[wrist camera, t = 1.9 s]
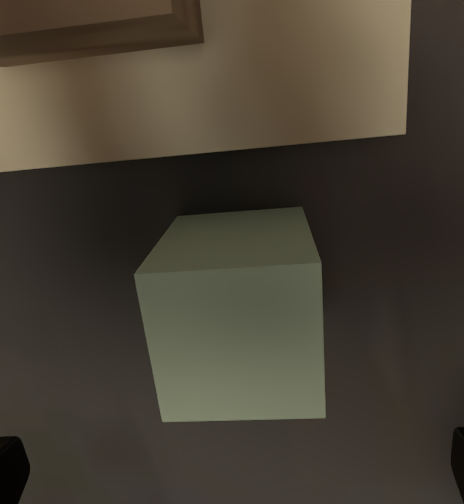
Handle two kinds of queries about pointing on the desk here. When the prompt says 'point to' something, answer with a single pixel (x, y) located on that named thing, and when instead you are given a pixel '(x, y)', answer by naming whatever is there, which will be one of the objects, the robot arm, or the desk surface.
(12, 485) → the robot arm
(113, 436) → the desk surface
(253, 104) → the base plate
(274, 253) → the sage block
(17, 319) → the desk surface
